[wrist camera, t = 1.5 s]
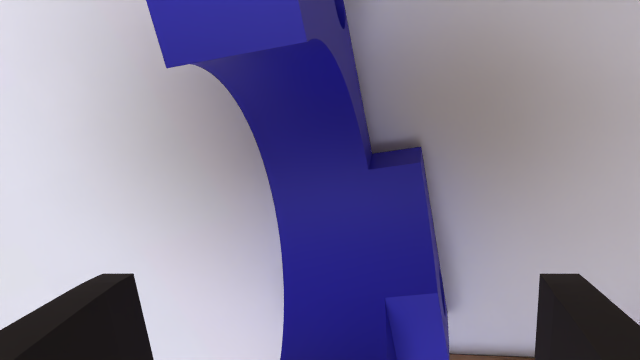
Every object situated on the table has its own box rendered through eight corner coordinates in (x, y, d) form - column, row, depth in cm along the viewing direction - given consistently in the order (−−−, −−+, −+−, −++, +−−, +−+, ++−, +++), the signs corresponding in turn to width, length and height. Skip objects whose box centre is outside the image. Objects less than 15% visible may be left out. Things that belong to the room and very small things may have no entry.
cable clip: (447, 310, 21) (454, 450, 15) (318, 320, 22) (282, 454, 16) (388, -63, 16) (370, -57, 11) (232, -29, 17) (143, -7, 12)
